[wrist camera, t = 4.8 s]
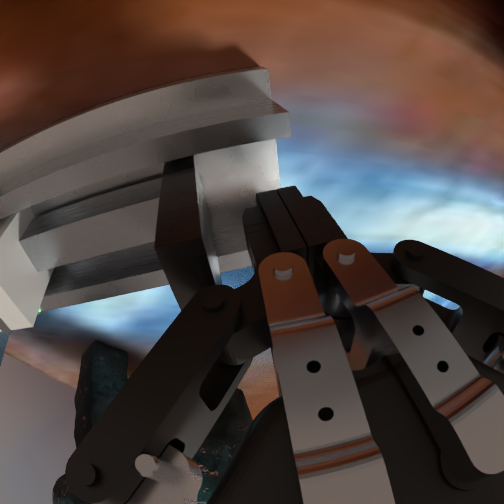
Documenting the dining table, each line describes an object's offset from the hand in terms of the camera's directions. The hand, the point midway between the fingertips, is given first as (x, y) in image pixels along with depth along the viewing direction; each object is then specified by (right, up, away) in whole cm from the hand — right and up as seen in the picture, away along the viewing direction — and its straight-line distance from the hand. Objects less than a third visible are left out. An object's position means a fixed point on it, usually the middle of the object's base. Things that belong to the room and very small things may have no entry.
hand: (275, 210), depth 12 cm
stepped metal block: (-8, 0, +2) cm, 8 cm away
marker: (-14, -1, +2) cm, 14 cm away
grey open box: (-10, +1, +3) cm, 10 cm away
